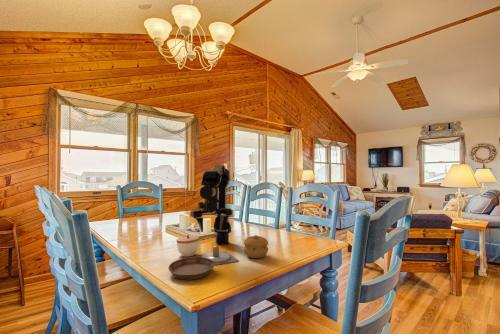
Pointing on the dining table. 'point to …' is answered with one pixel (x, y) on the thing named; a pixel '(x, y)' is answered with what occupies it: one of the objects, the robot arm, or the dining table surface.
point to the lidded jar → (188, 245)
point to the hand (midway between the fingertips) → (211, 231)
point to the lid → (217, 255)
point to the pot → (255, 246)
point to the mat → (231, 260)
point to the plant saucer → (191, 267)
